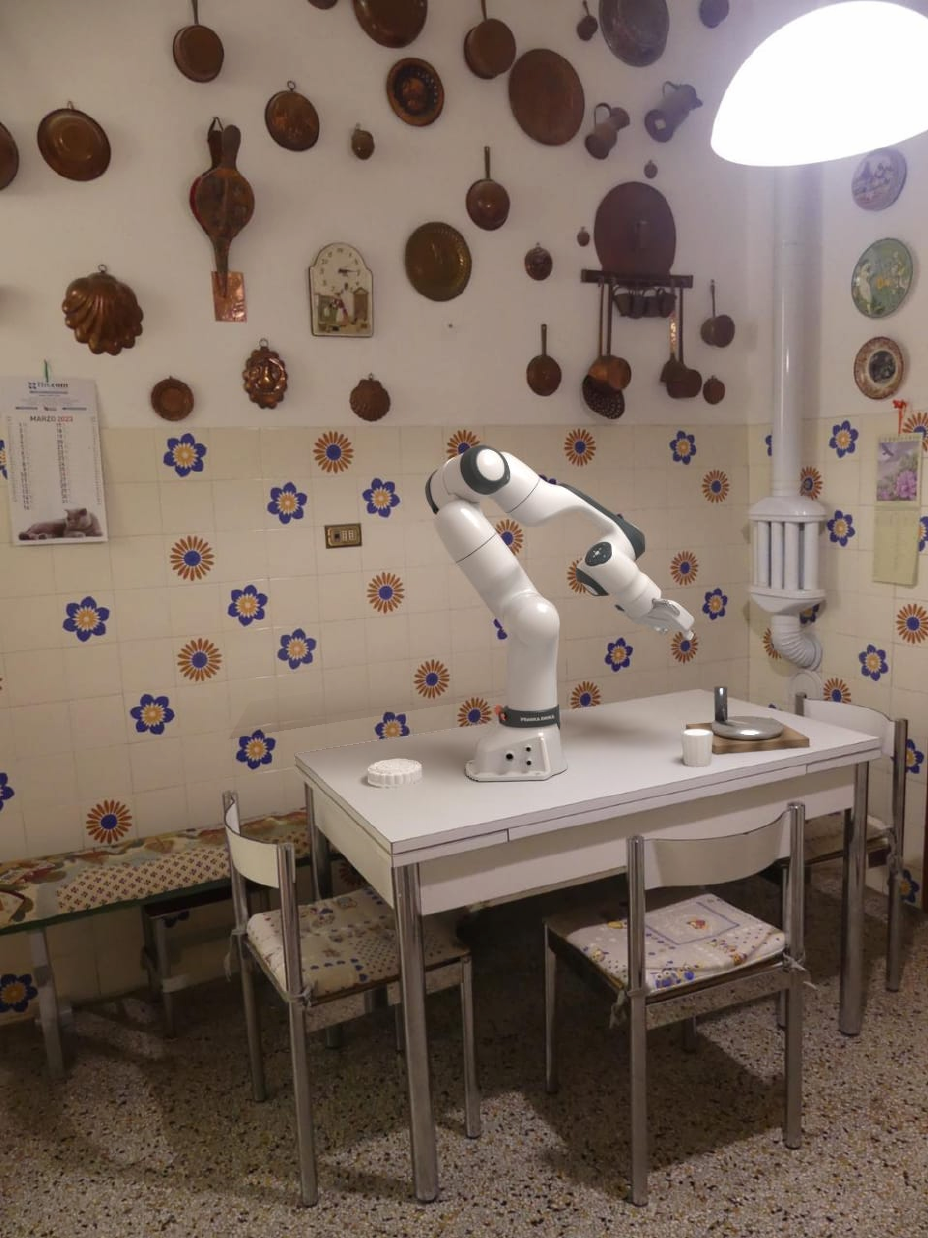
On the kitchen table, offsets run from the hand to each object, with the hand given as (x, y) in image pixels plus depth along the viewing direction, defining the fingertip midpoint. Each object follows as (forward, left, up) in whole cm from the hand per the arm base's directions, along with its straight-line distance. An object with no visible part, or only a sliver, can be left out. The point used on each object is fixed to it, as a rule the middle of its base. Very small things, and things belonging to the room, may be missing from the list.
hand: (677, 635), depth 220 cm
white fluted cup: (-2, -16, -26) cm, 31 cm away
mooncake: (-68, -10, -26) cm, 73 cm away
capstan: (+15, -2, -23) cm, 28 cm away
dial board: (+15, -1, -26) cm, 30 cm away
